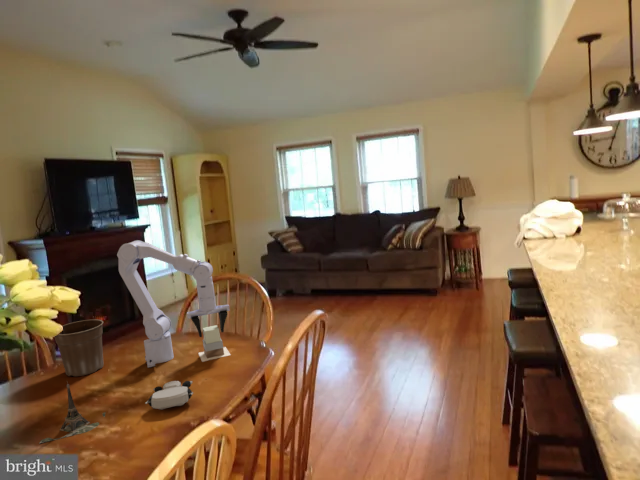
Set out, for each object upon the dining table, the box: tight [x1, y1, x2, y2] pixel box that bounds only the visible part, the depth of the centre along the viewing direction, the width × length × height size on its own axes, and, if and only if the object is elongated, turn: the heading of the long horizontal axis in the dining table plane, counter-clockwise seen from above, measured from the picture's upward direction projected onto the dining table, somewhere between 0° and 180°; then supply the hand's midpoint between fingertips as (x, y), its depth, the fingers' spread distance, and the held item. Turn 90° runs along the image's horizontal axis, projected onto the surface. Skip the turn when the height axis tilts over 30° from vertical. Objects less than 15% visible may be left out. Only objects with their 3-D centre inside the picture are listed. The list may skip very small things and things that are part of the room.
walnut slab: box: [203, 347, 224, 358], centre depth 166 cm, size 6×6×2 cm
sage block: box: [202, 324, 222, 344], centre depth 165 cm, size 5×5×4 cm
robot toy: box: [145, 380, 194, 411], centre depth 133 cm, size 12×4×15 cm
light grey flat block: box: [202, 337, 224, 352], centre depth 166 cm, size 6×6×2 cm
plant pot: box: [54, 319, 105, 377], centre depth 164 cm, size 16×16×16 cm
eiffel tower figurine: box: [39, 381, 106, 444], centre depth 123 cm, size 15×10×13 cm
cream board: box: [198, 346, 232, 363], centre depth 166 cm, size 10×10×1 cm
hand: (211, 333), depth 165 cm, fingers open, 7 cm apart
